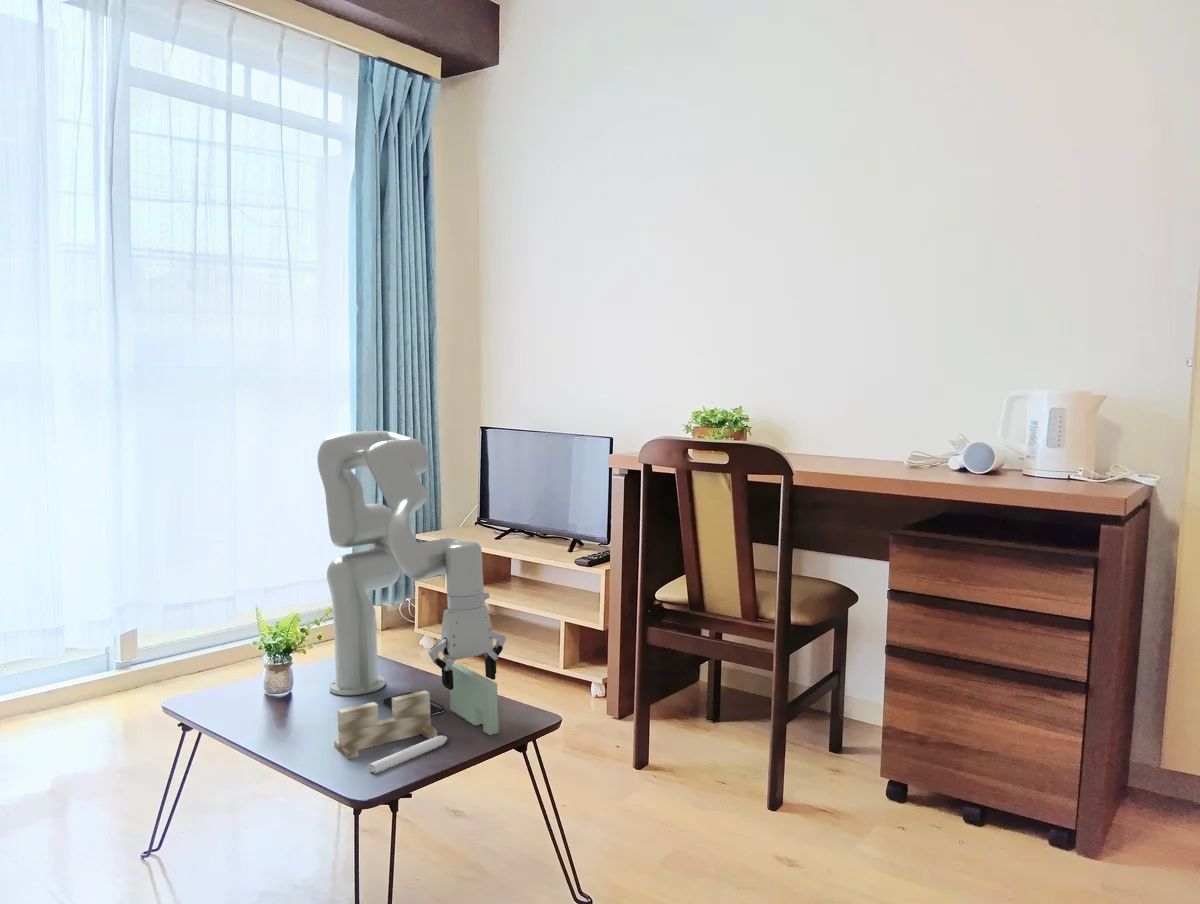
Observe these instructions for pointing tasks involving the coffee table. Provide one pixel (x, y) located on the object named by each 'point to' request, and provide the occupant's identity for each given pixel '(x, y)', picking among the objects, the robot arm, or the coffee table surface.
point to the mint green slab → (474, 698)
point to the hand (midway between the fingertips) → (470, 683)
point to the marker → (407, 754)
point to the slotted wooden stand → (383, 723)
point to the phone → (433, 706)
